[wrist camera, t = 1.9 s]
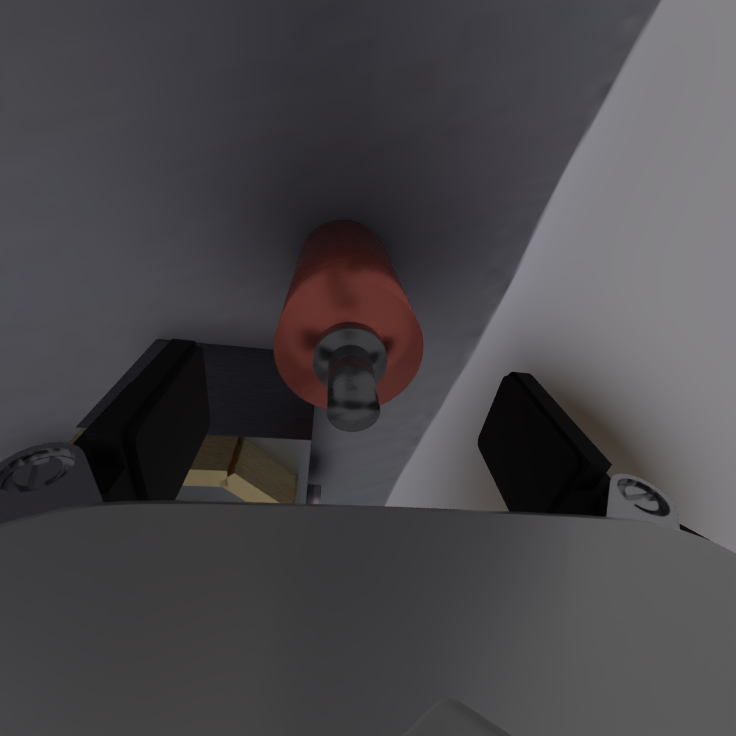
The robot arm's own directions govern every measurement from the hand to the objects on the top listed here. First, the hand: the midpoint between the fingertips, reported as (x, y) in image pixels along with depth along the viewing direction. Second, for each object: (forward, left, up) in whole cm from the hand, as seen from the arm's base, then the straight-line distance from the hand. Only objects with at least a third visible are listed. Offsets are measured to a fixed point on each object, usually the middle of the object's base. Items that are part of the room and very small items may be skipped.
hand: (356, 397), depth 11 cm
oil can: (-1, 0, -11) cm, 11 cm away
